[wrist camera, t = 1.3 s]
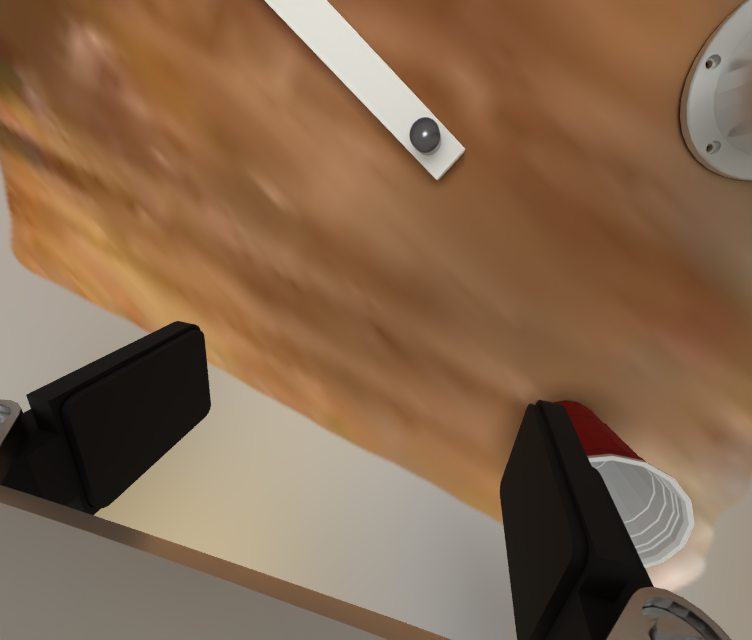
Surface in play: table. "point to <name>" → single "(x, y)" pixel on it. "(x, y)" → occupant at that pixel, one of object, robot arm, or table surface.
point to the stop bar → (372, 82)
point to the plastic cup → (636, 489)
